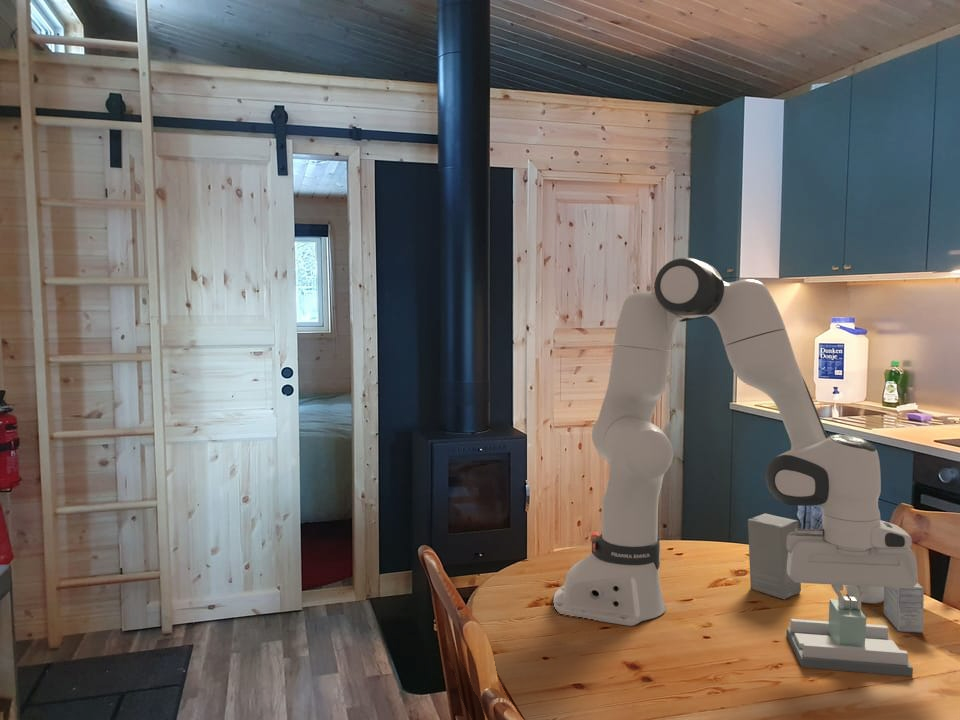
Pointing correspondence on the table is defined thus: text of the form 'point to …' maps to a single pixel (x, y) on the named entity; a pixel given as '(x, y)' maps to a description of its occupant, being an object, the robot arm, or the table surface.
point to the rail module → (846, 625)
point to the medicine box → (905, 608)
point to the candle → (872, 597)
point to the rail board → (847, 650)
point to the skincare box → (771, 555)
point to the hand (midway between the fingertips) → (849, 608)
